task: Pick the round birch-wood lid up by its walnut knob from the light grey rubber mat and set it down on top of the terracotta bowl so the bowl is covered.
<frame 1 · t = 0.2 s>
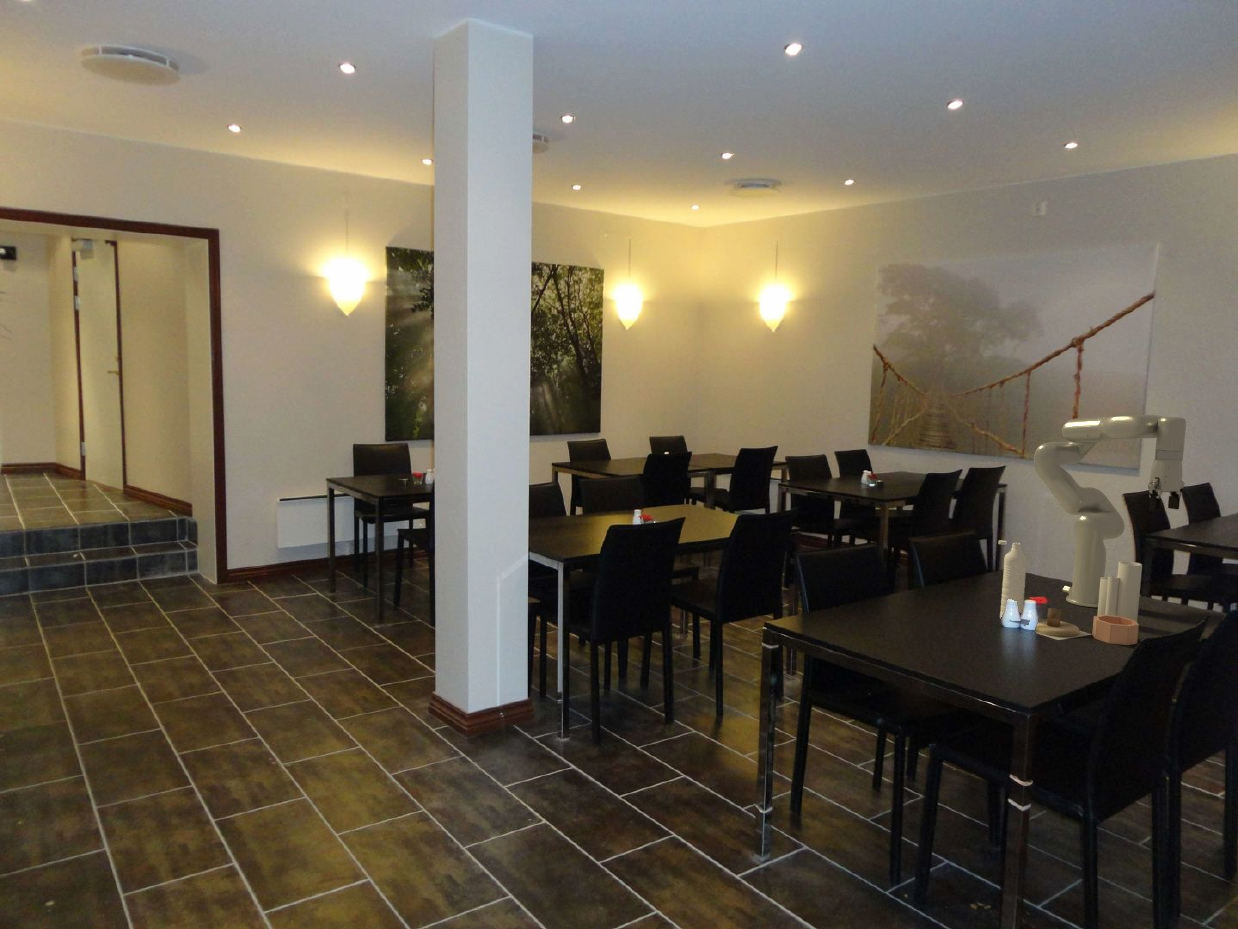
hand: (1164, 509, 276), 37 cm above the table, tool pointing down, fingers open, 9 cm apart
lid: (1053, 630, 266), resting on mat
water bottle: (1007, 619, 279), on the table
mat: (1052, 631, 266), on the table
bowl: (1114, 640, 259), on the table
candle: (1115, 624, 277), on the table
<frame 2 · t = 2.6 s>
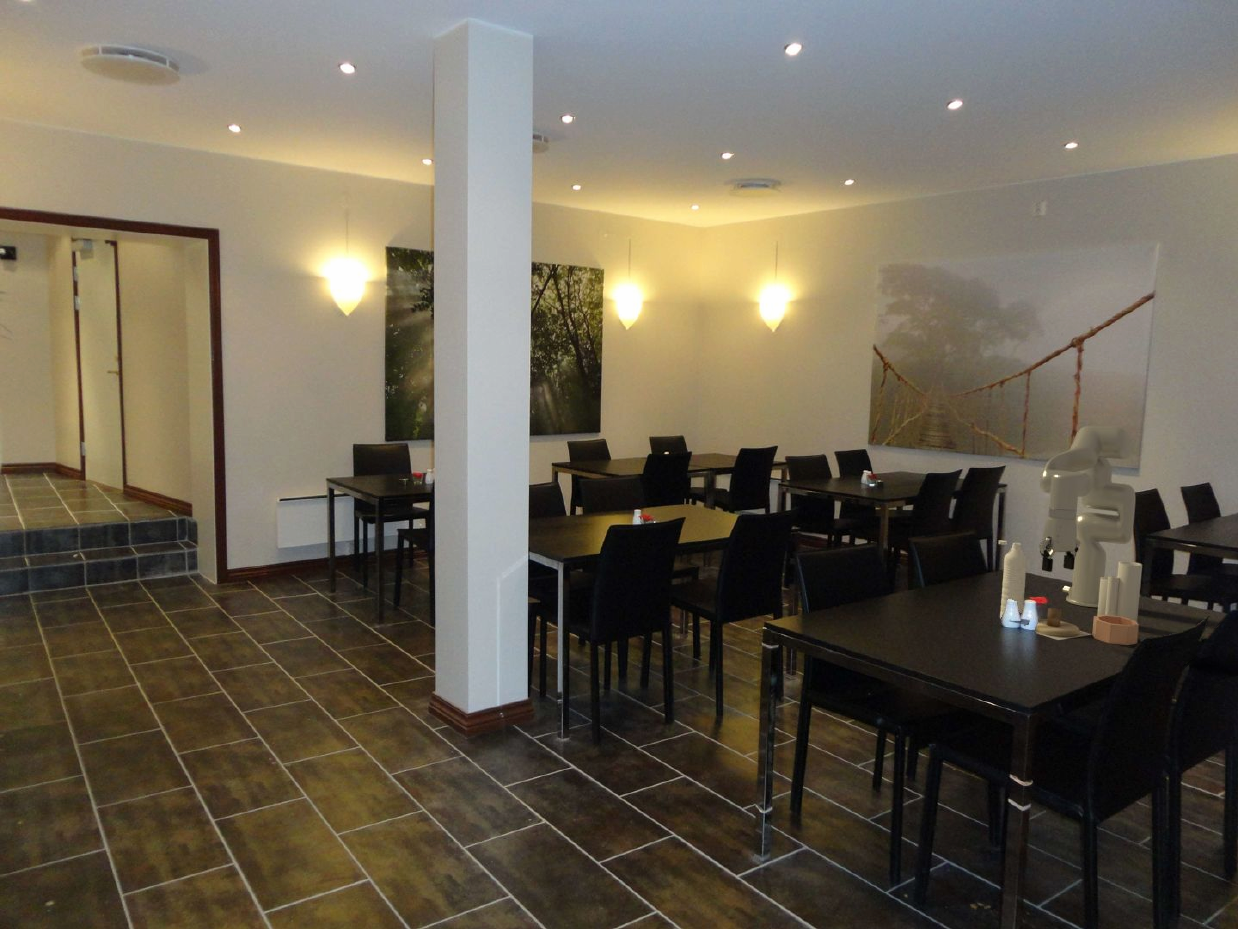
hand: (1057, 570, 264), 19 cm above the table, tool pointing down, fingers open, 9 cm apart
nothing on the table moved.
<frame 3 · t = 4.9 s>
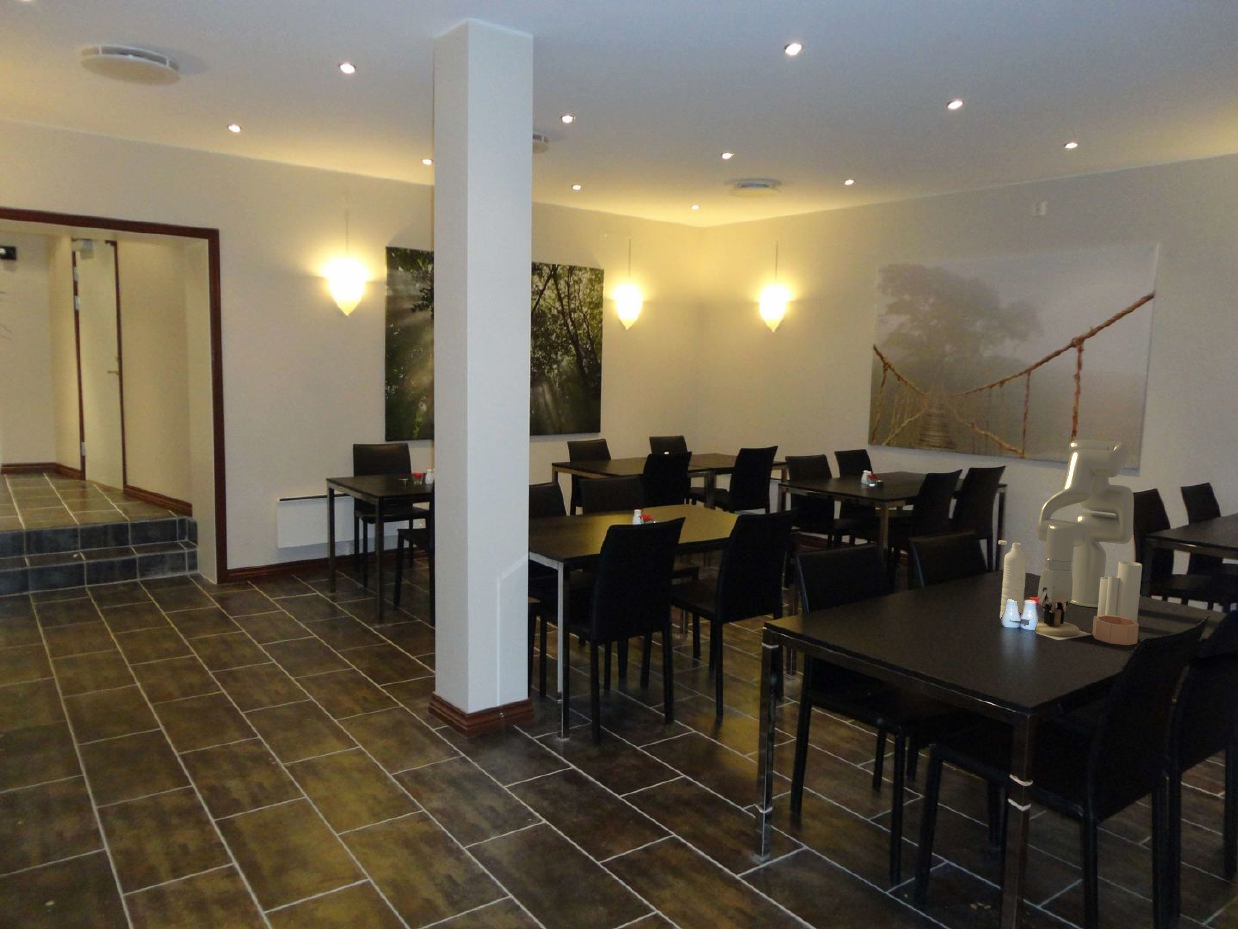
hand: (1053, 623, 266), 3 cm above the table, tool pointing down, fingers closed on lid, 3 cm apart
lid: (1053, 630, 266), resting on mat, touching gripper
everything else where it was.
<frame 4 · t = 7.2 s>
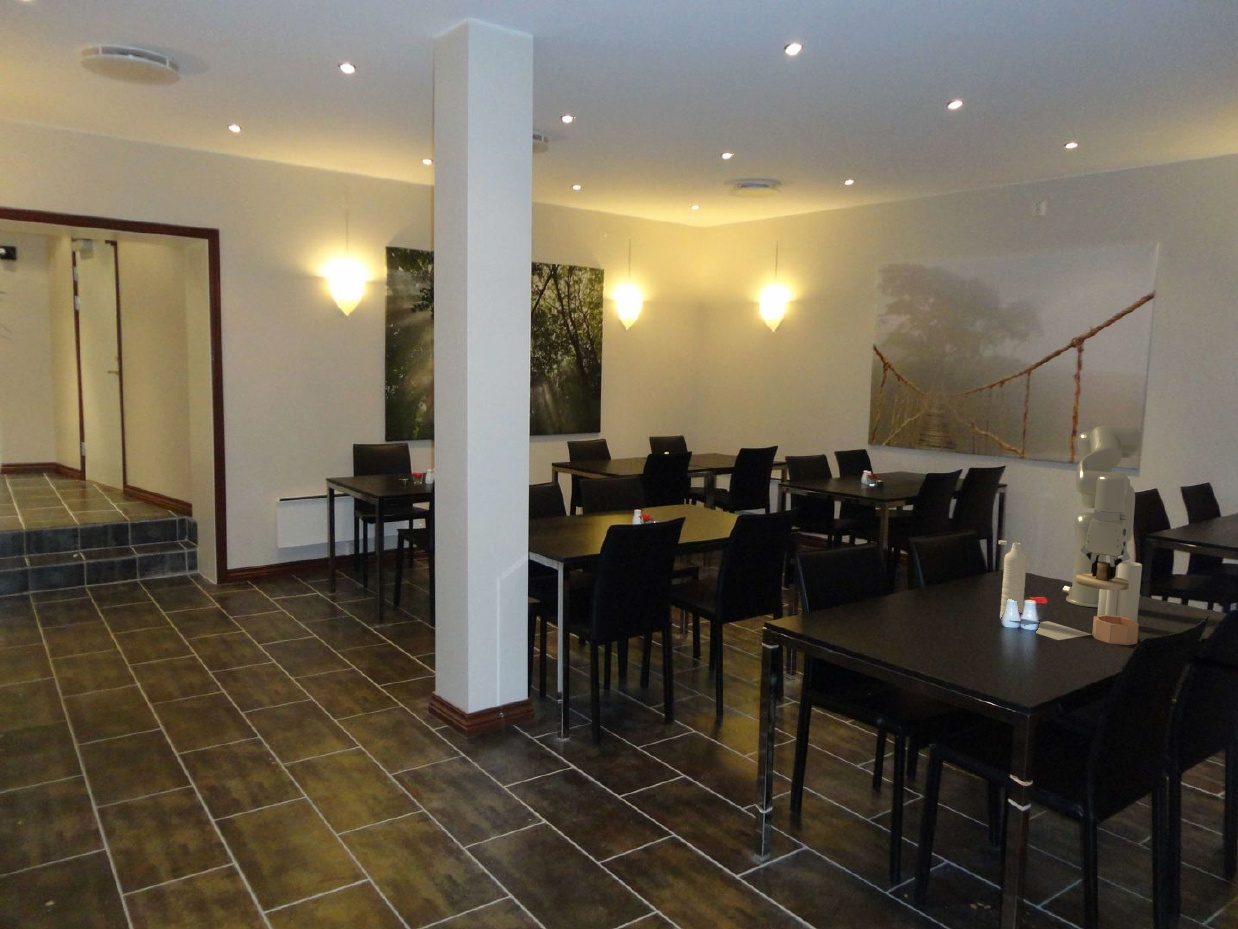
hand: (1103, 576, 259), 19 cm above the table, tool pointing down, fingers closed on lid, 3 cm apart
lid: (1102, 584, 259), point 16 cm above the table, touching gripper
everything else where it was.
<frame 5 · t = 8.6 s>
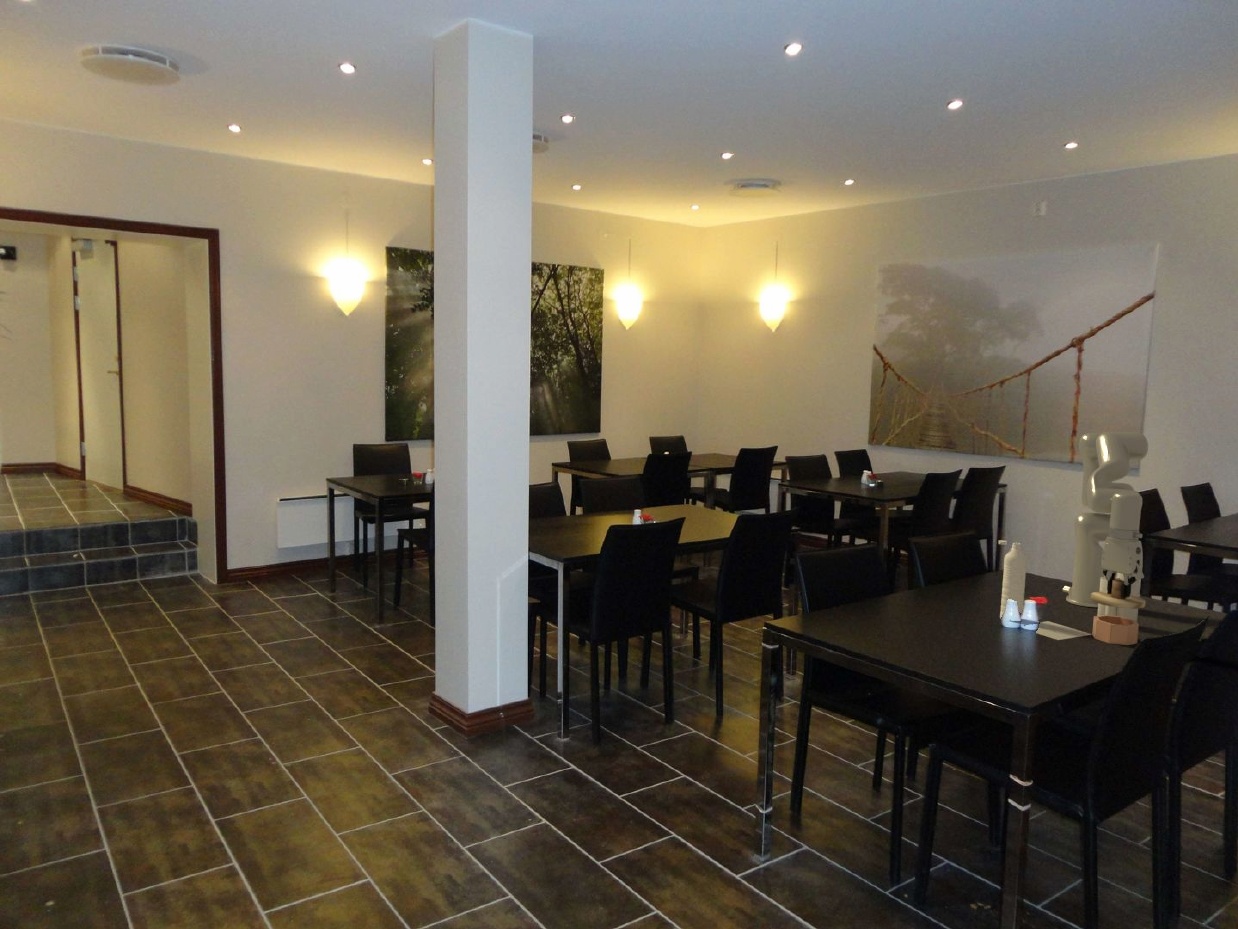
hand: (1118, 595, 258), 14 cm above the table, tool pointing down, fingers closed on lid, 3 cm apart
lid: (1117, 602, 258), point 12 cm above the table, touching gripper
everything else where it was.
when the fingers open (10 cm above the table, at t = 9.5 s): lid drops 2 cm, resting on bowl.
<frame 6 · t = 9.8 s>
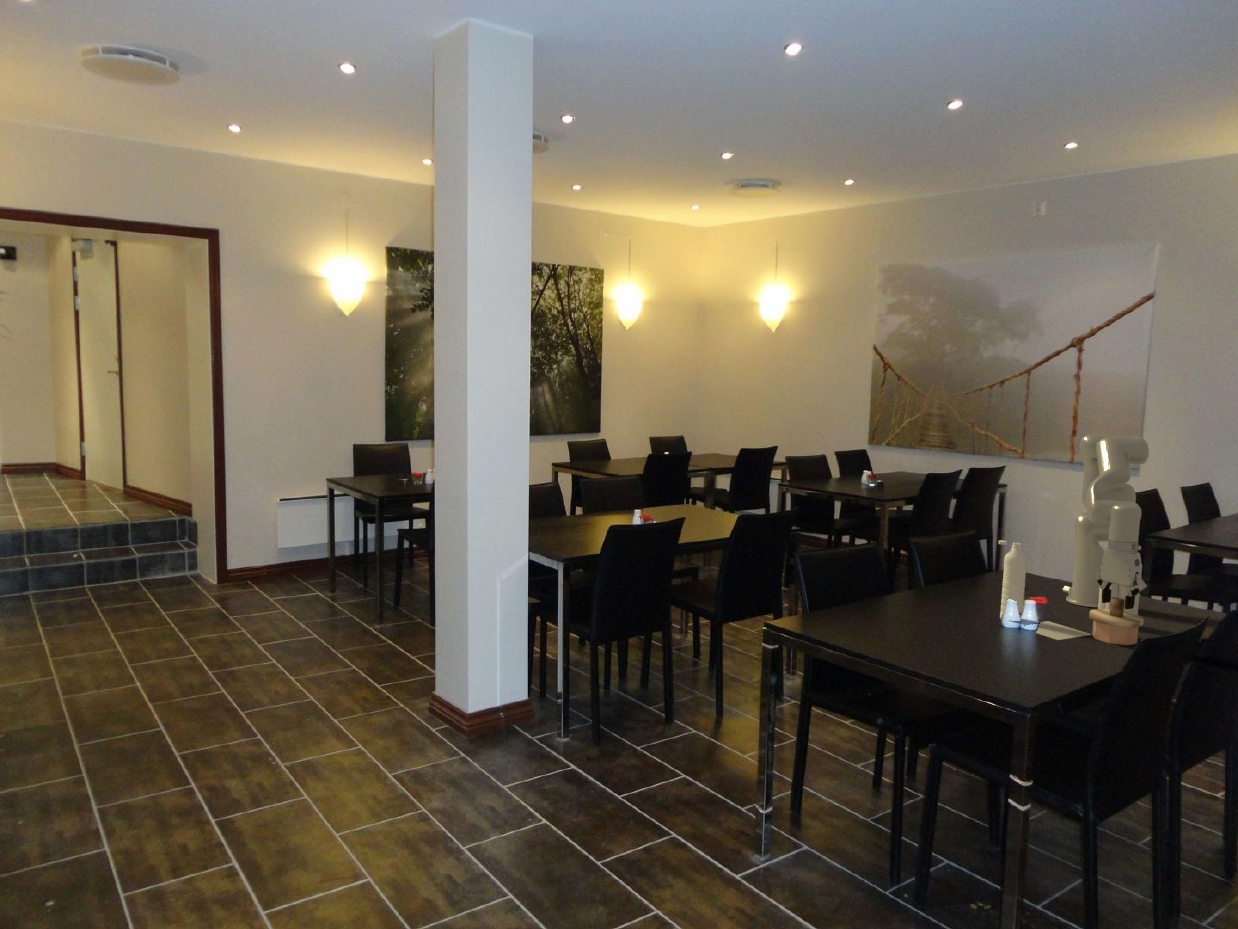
hand: (1117, 605, 258), 11 cm above the table, tool pointing down, fingers open, 6 cm apart
lid: (1115, 620, 259), point 6 cm above the table, touching bowl
everything else where it was.
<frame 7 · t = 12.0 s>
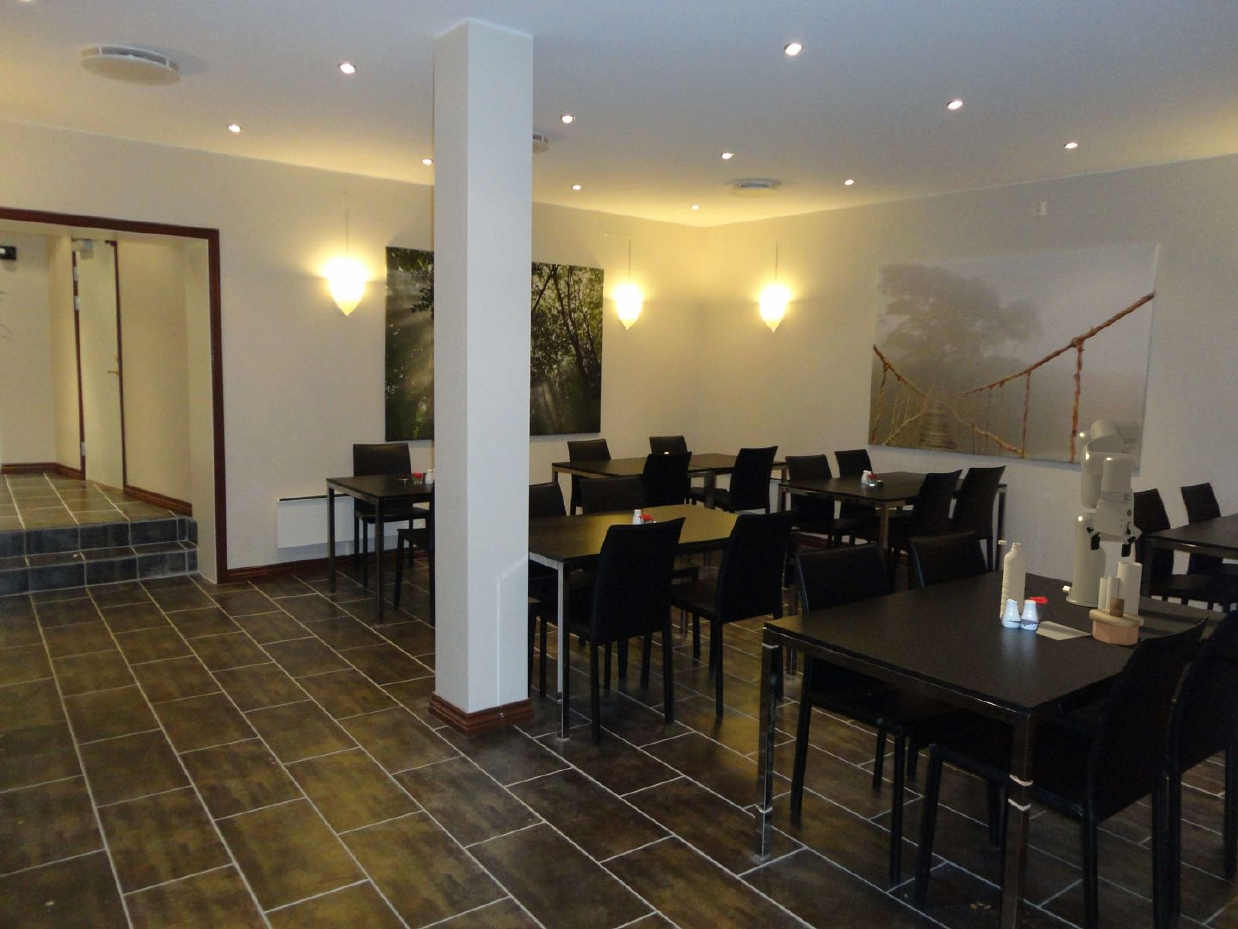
hand: (1109, 553, 262), 25 cm above the table, tool pointing down, fingers open, 9 cm apart
nothing on the table moved.
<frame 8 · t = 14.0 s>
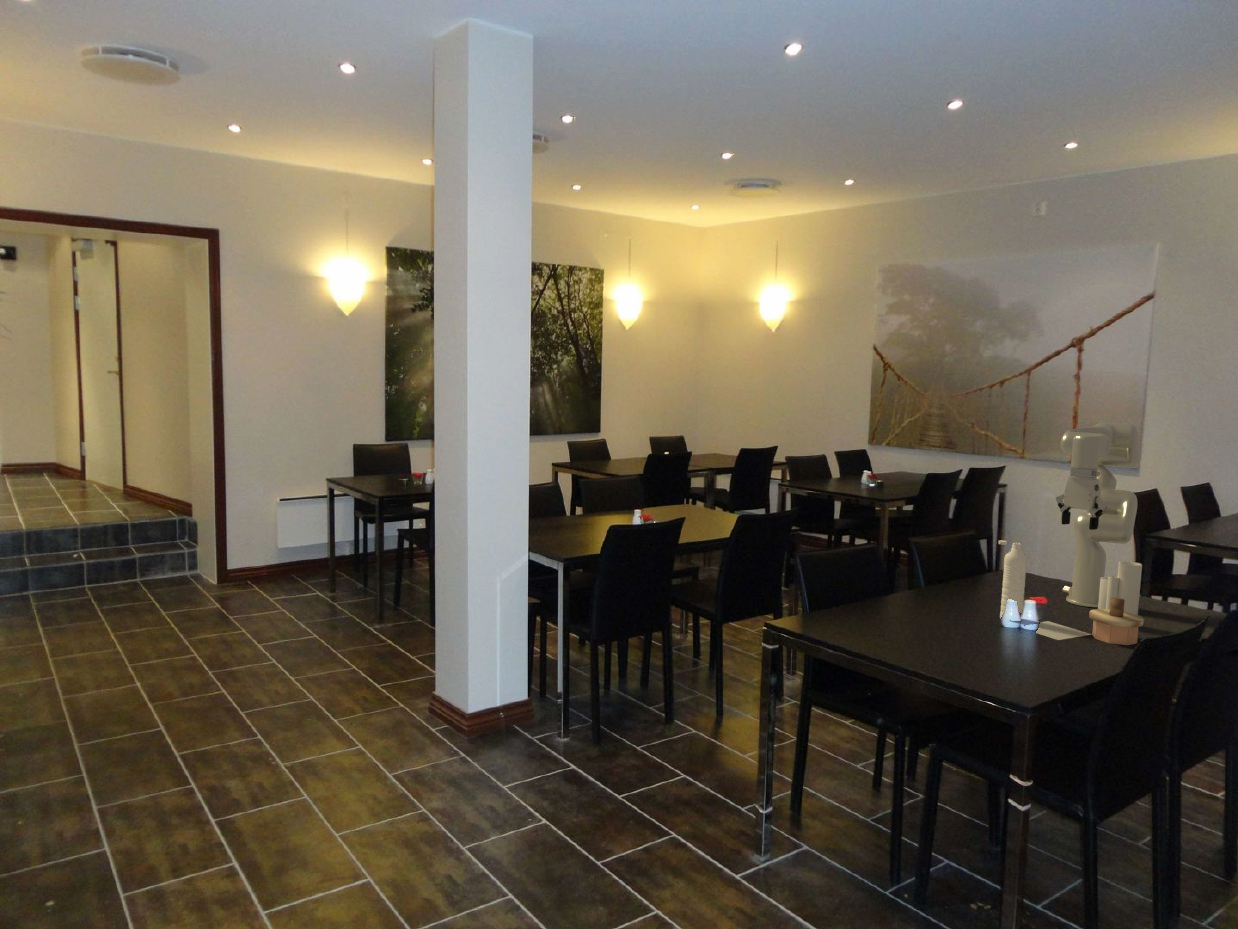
hand: (1079, 526, 277), 30 cm above the table, tool pointing down, fingers open, 9 cm apart
nothing on the table moved.
at the end: lid 0.0 cm off-centre on the bowl, point 6.0 cm above the bowl's base; lid tilted 0°; the gripper is holding nothing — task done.
